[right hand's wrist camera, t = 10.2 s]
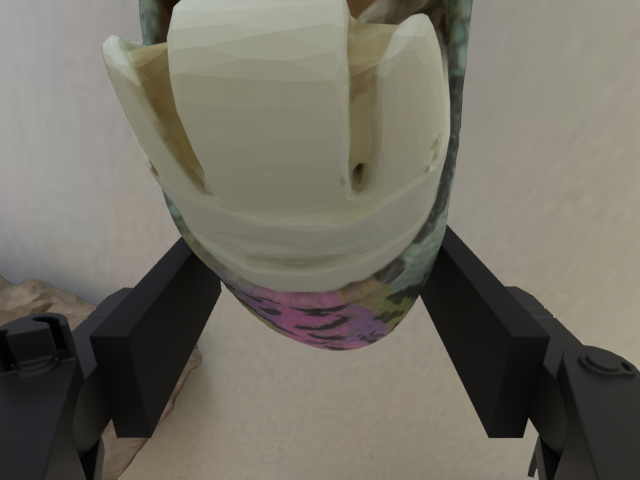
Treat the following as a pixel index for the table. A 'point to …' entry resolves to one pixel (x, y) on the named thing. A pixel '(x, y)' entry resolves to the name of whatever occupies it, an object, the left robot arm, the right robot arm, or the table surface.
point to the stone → (40, 297)
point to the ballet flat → (303, 148)
